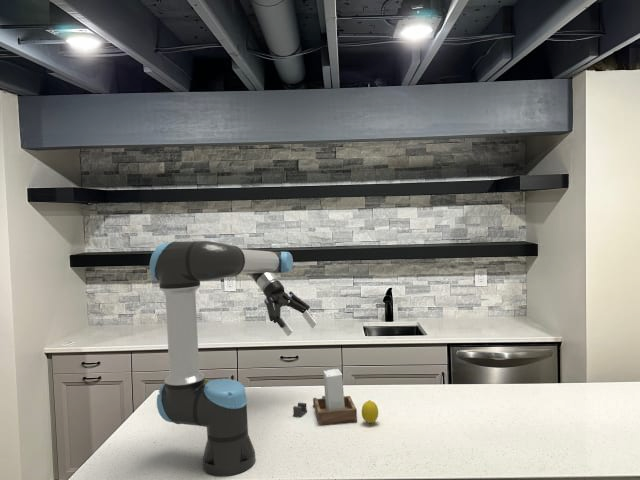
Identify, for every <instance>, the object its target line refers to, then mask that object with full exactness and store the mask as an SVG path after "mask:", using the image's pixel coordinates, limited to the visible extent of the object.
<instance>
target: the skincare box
mask: <svg viewBox="0 0 640 480" xmlns="http://www.w3.org/2000/svg"><path fill="white" fill-rule="evenodd" d="M322 374H323V387H324V396H325V402H326V411H332V410H343V409H345V405H344V396H345V394H344V383H343V373H342V372H341V371H340V369H339V368H333V369H325V370H323V373H322Z"/></svg>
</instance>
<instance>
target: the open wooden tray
mask: <svg viewBox="0 0 640 480" xmlns="http://www.w3.org/2000/svg"><path fill="white" fill-rule="evenodd" d="M314 400H315V409H314V411H315V413H314V414H315V417H316V419H317V424H318V426H319V427H323V426H325V427H326V426H331V425H332V426H334V425H344V424H354V423H358V412H357V411H358V410H357V408H356V405H355V403H354V402H353V400H352V398H351V396H350V395H347V396H346V395H344V405H345V409H343V410H332V411H326V402H325V398H322V397H321V398H317V399H314Z"/></svg>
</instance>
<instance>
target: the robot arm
mask: <svg viewBox="0 0 640 480" xmlns="http://www.w3.org/2000/svg"><path fill="white" fill-rule="evenodd" d="M149 260H150V261H149V272H150V275H151V276H152V278H153V279H154V280H155V281H157V282H158V283H159V284H158V285H159V290H160V291H162V292H163V293H164V295H165V310H166V311H165V313H166V315H165V316H166V332H167V335H166V336H167V351H168V368H169V369H168V371H169V372H168V373H169V374H168V375H167V376H166V377H165V379H164V383H163V384H162V385H161V387H160V388H159V390H158V394H157V397H156V407H157V411H158V414H159V416H160V417H161V418H162V419H163V420H164V421H165V422H168V423H173V424H176V425H187V426H198V427H205V428H206V436H207V437H206V438H207V439H206V443H205V447H204V451H203V454H202V455H203V456H202V460H201V461H202V469H203V471H204V472H206V474H209V475H211V476H212V475H213V476H217V477H219V476H220V477H224V476H233V475H237V474H240V473H243V472H245V471H247V470H250V469H251V467H253V466H254V465H255V462H256V460H257V459H256V451H255V447H254V445H253V443H252V441H251V438H250V435H249V428H248V427H249V425H248V407H247V406H248V405H247V403H248V398H247V393H246V388H245V386H244V385H243V384H242V383H241V382H240V381H237V380H236V379H235V380H234V379H231V378H222V379H221V378H220V379H219V378H216V379H215V378H214V379H212V380H211V379H210V381H209V382H207V383H206V385H205V380H206V378H205V374H204V373H203V372H202V371H201V370H200V362H199V361H200V357H199V341H198V339H199V337H198V320H197V319H198V318H197V298H196V292H197V290H198V289H199V288H200V287H201V282H206V281H213V280H220V279H225V278H226V279H227V278H234V277H237V276H239V275H241V274H245V275H247V276H250V277H251V278H252V279H253V280H254V283H255V284H256V285H257V286H258V287H259V289H260V290H261V291H262V292H263V295H264V296H265V299H264V301H263V302H264V305H266V310H267V314H268V315H267V316H268V318H269V321H270V322H273V324H277V325H278V326H279V328H280V329H282V330H283V332H284V333H285V335H286V336H287V337H289V336H290V335H291V334H292V333H293V329H292V327H291V326H290V324H288V322H287V320H286V319H285V317H284V316H281V308H282V307H290V308H292V309H294V310H295V311H297V312H299V313H300V314H302V315H301V316H302V317H303V318H304V319H305V321H306V323H307V324H308V325H309V326H310V328H311V329H314V328H315V327H316V325H317V324H318V323H317V321H316V320H315V319H314V318H313V315H312V314H311V312H310V311H309V309H310V308H311V306H310V305H308V304H307V302H305V301H304V300H303V299H301V298H299V297H298V296H297V295H295V294H294V292H293V291H289V292H288V293H286V292H285V287H284V285H283V284H282V283H281V281H280V280H279V278H278V277H277V276H276V275H275V274H283V273H290V272H291V271H292V269H293V266H294V259H293V255H292V254H291V253H290V252H289V251H267V250H266V251H265V250H254V249H244V248H243V249H242V248H240V247H239V246H237V245H234V244H233V245H232V244H226V243H221V242H215V241H209V240H198V241H197V240H196V241H195V240H193V241H192V240H191V241H189V240H188V241H170V242H168V241H167V242H163V243H161V244H159V245H158V246H157V247H155V249H154V250H153V252H152V254H151V257H150V259H149Z"/></svg>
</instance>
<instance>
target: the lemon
mask: <svg viewBox="0 0 640 480" xmlns="http://www.w3.org/2000/svg"><path fill="white" fill-rule="evenodd" d="M361 416H362V417H361V418H362V419H363V420H364V421H365V422H366V423H368V424H369V425H371V424H373V423H374V422H376V420H377V419H378V417H379V408H378V406H377V404H376V403H375V402H374V401H372V400H369V399H368V401H365V402H364V403H363V404H362V408H361Z"/></svg>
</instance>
